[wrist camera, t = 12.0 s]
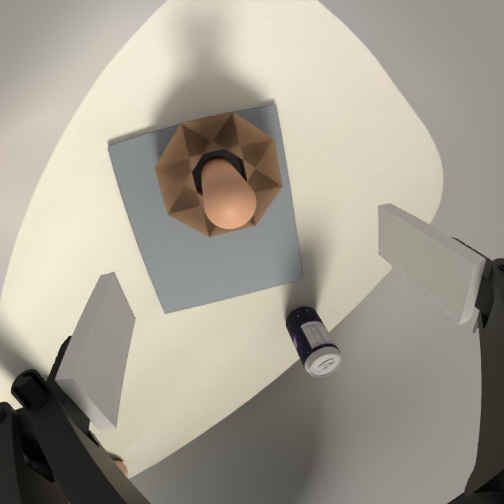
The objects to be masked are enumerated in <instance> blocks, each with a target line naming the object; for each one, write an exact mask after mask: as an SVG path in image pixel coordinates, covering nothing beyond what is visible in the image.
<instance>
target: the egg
mask: <svg viewBox="0 0 504 504" xmlns="http://www.w3.org/2000/svg"><path fill="white" fill-rule="evenodd" d="M113 461H114V462H115V463H116V465H117V466H118V467H119V468H120V470H121V471H122V472H123V473H124V474H125V476H126V477H128V471H127V468H126V466H125V465H124V464H123V463H122V462H121V461H118V460H113Z"/></svg>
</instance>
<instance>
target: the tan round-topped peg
mask: <svg viewBox="0 0 504 504" xmlns="http://www.w3.org/2000/svg"><path fill="white" fill-rule="evenodd" d="M201 180H202V190H203V200H204V209H205V212H206V215H207V217H208V218H209V220H210V221H211V222H212V223H213V224H215V225H216V226H218V227H221V228H225V229H234V228H238V227H241V226H243V225H244V224H246V223H247V222H248V221H249V220H250V219H251V218H252V216H253V214H254V212H255V209H256V197H255V194H254V191H253V190H252V188H251V187H250V186H249V185H248V184H247V182H246V181H245V180H244V179H243V178H242V176H241V175H240V174H239V173H238V172H237V170H236V169H235V168H234V167H233V166H232V164H231V163H230V162H229V161H228V160H227V159H226V158H224V157H222V156H212V157H209V158H208V159H206V160H205V161H204V163H203V164H202V167H201Z"/></svg>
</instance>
